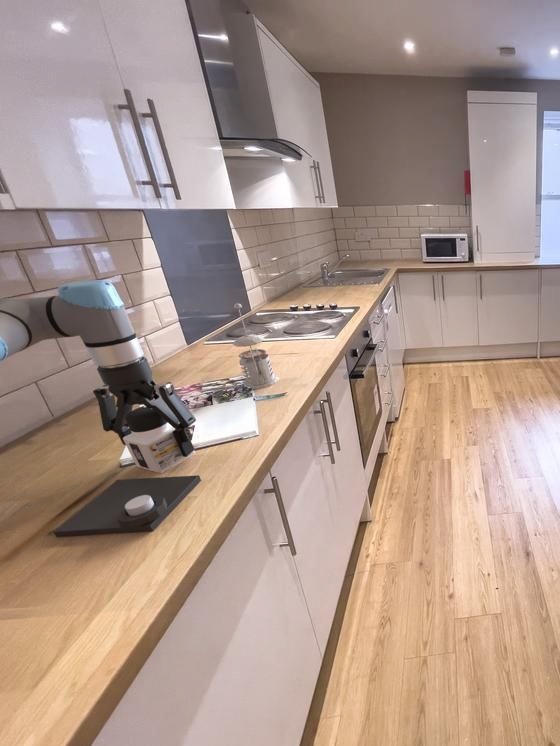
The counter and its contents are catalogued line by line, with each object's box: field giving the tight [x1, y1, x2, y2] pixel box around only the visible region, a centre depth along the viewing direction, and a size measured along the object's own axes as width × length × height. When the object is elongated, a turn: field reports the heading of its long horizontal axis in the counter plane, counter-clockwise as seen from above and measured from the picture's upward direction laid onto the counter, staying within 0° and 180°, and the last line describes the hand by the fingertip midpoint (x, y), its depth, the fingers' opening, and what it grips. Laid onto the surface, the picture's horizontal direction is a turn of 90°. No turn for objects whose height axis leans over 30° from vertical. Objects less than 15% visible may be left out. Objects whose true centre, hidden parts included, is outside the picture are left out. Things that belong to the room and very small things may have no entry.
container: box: [123, 405, 196, 474], centre depth 88 cm, size 8×8×13 cm
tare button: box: [125, 495, 154, 516], centre depth 73 cm, size 4×4×2 cm
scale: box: [52, 474, 202, 538], centre depth 77 cm, size 16×14×3 cm
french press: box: [232, 302, 280, 390], centre depth 122 cm, size 10×12×25 cm
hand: (164, 454), depth 90 cm, fingers closed on container, 10 cm apart
